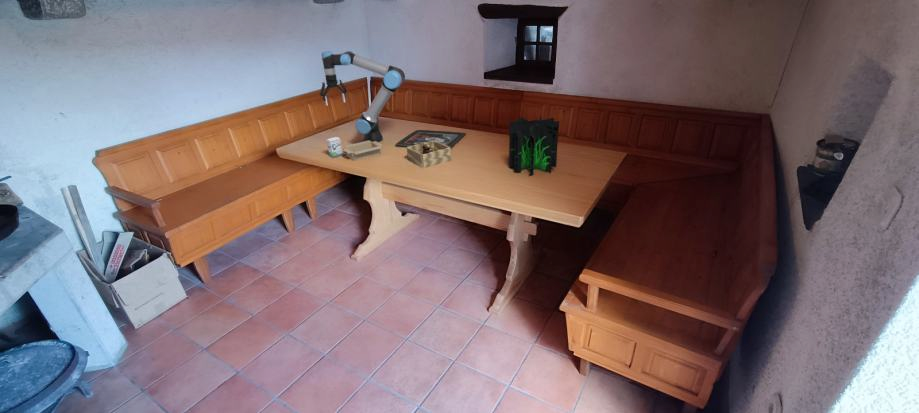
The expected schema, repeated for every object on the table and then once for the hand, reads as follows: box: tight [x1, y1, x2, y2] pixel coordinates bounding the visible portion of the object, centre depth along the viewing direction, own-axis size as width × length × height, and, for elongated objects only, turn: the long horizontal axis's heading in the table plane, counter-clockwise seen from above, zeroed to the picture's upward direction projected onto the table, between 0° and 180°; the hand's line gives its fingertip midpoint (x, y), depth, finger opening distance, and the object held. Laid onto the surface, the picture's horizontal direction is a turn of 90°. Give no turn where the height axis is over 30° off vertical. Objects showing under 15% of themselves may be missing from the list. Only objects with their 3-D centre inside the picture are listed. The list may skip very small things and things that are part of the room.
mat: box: [326, 152, 345, 159], centre depth 311 cm, size 9×12×1 cm
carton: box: [342, 140, 383, 162], centre depth 307 cm, size 26×22×6 cm
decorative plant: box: [508, 115, 560, 177], centre depth 267 cm, size 29×30×30 cm
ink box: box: [326, 136, 343, 156], centre depth 308 cm, size 9×5×12 cm, turn 137°
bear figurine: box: [422, 143, 434, 154], centre depth 293 cm, size 14×15×12 cm
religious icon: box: [395, 129, 467, 149], centre depth 331 cm, size 40×45×3 cm
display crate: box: [406, 140, 452, 169], centre depth 292 cm, size 23×22×9 cm
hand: (335, 103), depth 315 cm, fingers open, 13 cm apart
